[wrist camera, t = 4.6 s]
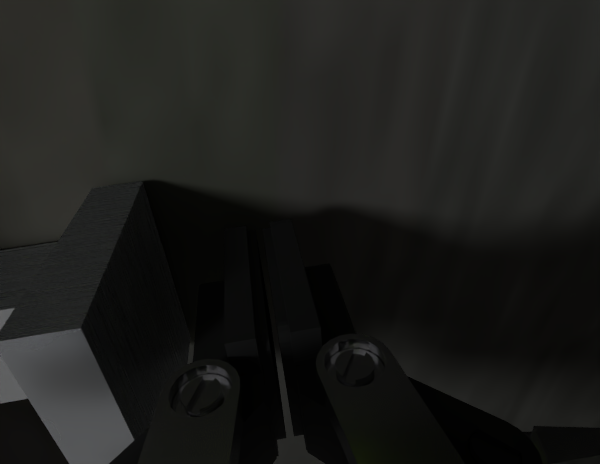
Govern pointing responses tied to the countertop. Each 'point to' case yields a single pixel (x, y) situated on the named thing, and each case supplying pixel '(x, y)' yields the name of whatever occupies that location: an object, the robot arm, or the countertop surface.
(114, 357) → the lynch pin
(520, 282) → the countertop surface
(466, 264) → the countertop surface
